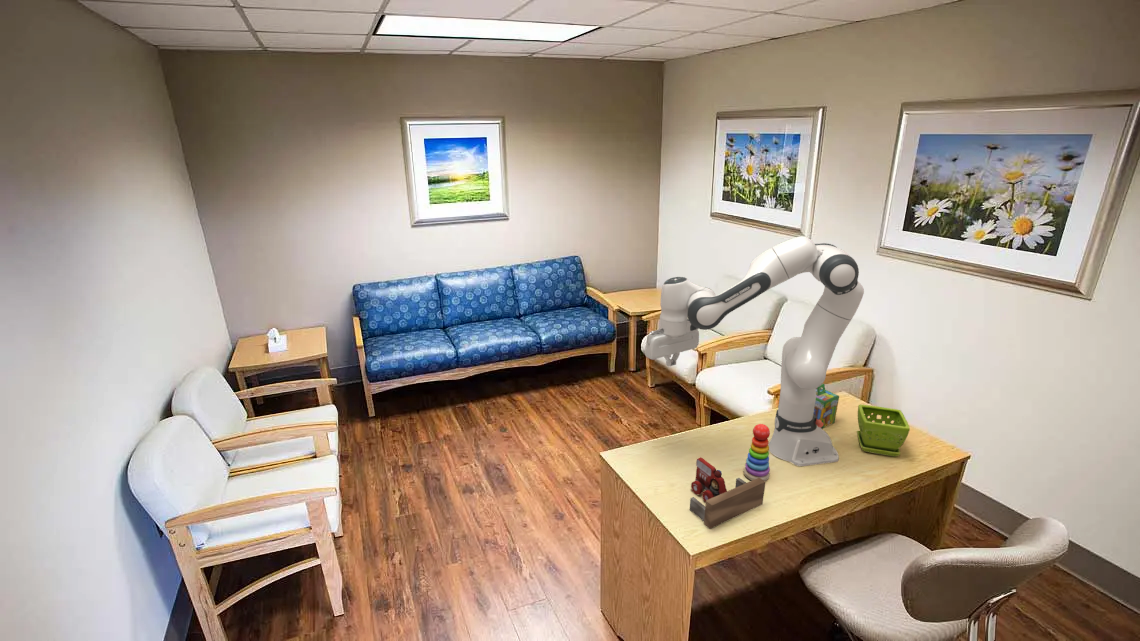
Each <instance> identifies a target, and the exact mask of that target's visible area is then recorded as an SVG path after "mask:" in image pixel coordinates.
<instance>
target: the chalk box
mask: <svg viewBox="0 0 1140 641" xmlns="http://www.w3.org/2000/svg"><path fill="white" fill-rule="evenodd" d="M839 400H840V395H838V394H836V393H833V392H831V391H830V390H827V389H826V384H825V383H823V384H822V385H821V386H819V387H817V388H816V401H815V407H814V413H813V414H814V415H815V416H816V417H817V418H818V420H821V421H822V422H823V424H824V425H823V426H822V427H820V428H822V429H825V428H827V427H828V426H830V425H833V424H835V422H836V418H837V412H838V411H837V410H838V404H839Z"/></svg>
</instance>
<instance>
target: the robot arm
mask: <svg viewBox="0 0 1140 641" xmlns="http://www.w3.org/2000/svg"><path fill="white" fill-rule="evenodd" d="M859 270H860V269H859V266H858V263H857V261H856V260H855V259H854V258H853V257H852V256H850V255H849V254H848V253H847V252H846V251H845V250H843V249H842V248H839V247H838V246H836V245H834V244H831V243H827V242H826V243H825V242H823V243H815V242H814V241H813V240H812V239H810V238H809V237H807V236H805V235H801V236H797V237H793V238H791V239H788V240H785V241H783V242H781V243H778V244H775V245H774V246H772V247H770V248H768V249H766V250H764V251H763V252H761V253H760V254H758V255H756V257H755V258H753V259H752V261H751V263H750V265H749V267H748V270H747V273H746V274H745V276H744V277H743V278H742V279H741V280H740V281H738V282H737V283H736V284H734V285H732V286H730V287H729V288H727V289H725V290H724V291H722V292H721V293H719V294H716V293H715V291H714V290H712V289H711V288H710V287H709V288H708V287H706V286H701V285H698V284H696V283H694V282H692V281H691V280H689V279H688V278H687V277H685V276H684V277H683V276H675V277H671V278H668V279H666V280H665V281H664V283H663V285H662V287H661V294H660V309H661V310H660V311H661V312H660V314H659V329H656V330H651V331H650V333H648V335H647V336H646V342H645V348H644V355H645V357H646V358H648V359H650V360H657V359H660V358H664V360H665V365H666V366H667V367H668V368H669V367H672V366H675V365H677V360H678V359H679V357H680V353H683V352H687V351H690V350H695V349H697V348H698V346H699V342H700V332H699V330H702V331H704V330H705V331H706V330H711V329H714V328H715V327H717V326H718V325H719V324H720V323H721V322H722V321H723V320H724V318H726V316H727V315H729V314H731V313H733V311H735V310H737V309H738V308H740V307H742V306H744V305H746V304H747V303H748V302H750V301H752V300H754V299H756V298H757V297H759V296H760V295H761V294H763V293H765V292H767V291H769V290H771V289H772V288H775V287H777V286H778V285H781V284H783V283H784V282H787V281H788V280H790V279H793V278H795V277H796V276H798V275H801V274H803V273H810V274H811V275H812V276H813V278H814V279H816V280H817V281H818V282H820V283H821V284H822V285H823V286H824V289H823V292H822V295H821V296H820V297H819V298H818V301H817V302H816V304H815V305H814V307H813V309H812V311H811V312H810V314H809V316H808V318H807V319H806V320H805V323H804V325H803V330H802V334H801V336H793V337H791V338H790V339H789V338H788V339H787V341H786V342H785V343H784V344H783V346H782V353H781V366H780V367H781V368H780V394H779V400H778V407H777V409H776V412H775V418H774V430H773V433H772V435H771V438H770V440H769V444H768V446H769V453H770V454H772V455H774V456H775V457H777V458H778V459H781V460H783V461H787V462H789V463H791V464H793V465H795V466H797V467H806V466H815V465H822V464H830V463H836V462H837V463H838V462H839V459H840V455H839V453H838V451H837V449H836V448H835V447H834V445H833V442H832V439H831V437H830V436H829V434H828V433H827V431H826V430H824V428H820V427H822V426H823V425H824V424H823V422H822V421H821V420H818V418H817V417H816V416H815V415H814V414H813V413H814V407H815V401H816V388H817V387H819V386H821V385H822V384H824V383H825V380H826V375H827V370H828V367H829V365H830V363H831V361H832V358H833V355H834V353H835V350H836V347H837V345H838V343H839V341H840V339H841V337H842V336H843V334H844V333H845V331H846V329H847V328H848V326H849V324H850V322H851V321H852V320H853V318H854V316H855V315H856V312H857V311H858V308H859V307H860V304H861V302H862V299H863V296H864V294H865V290H864V287H863V285H862V284H861V283H860V282H859V281H858V280H859V275H860V274H859V273H860V272H859Z"/></svg>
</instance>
